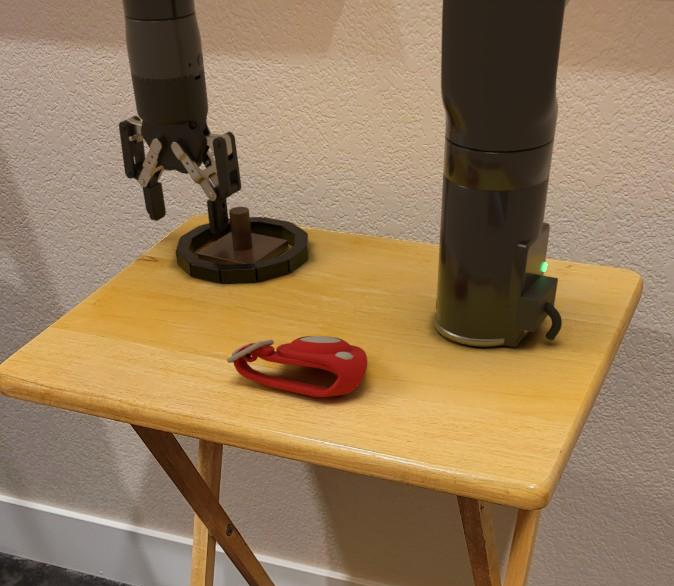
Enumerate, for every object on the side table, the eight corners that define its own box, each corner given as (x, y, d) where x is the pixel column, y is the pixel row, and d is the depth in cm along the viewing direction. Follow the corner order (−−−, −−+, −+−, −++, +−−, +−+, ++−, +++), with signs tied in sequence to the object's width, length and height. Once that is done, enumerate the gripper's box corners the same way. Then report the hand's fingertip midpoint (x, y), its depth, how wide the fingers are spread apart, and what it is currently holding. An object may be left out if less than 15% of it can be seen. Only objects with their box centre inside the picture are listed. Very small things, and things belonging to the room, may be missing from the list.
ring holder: (288, 248, 102) (285, 204, 98) (253, 273, 97) (248, 227, 93) (235, 237, 104) (230, 193, 101) (197, 261, 100) (191, 216, 96)
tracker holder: (333, 327, 85) (394, 344, 77) (332, 374, 87) (390, 394, 79) (218, 333, 79) (272, 352, 71) (219, 383, 81) (271, 406, 73)
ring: (331, 242, 102) (331, 229, 101) (262, 293, 93) (261, 279, 92) (227, 221, 108) (225, 209, 107) (152, 268, 99) (150, 254, 98)
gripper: (89, 65, 90) (119, 225, 102) (202, 82, 85) (220, 248, 97) (134, 49, 95) (158, 203, 106) (245, 63, 90) (257, 224, 101)
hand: (188, 224), depth 102 cm, fingers open, 8 cm apart
